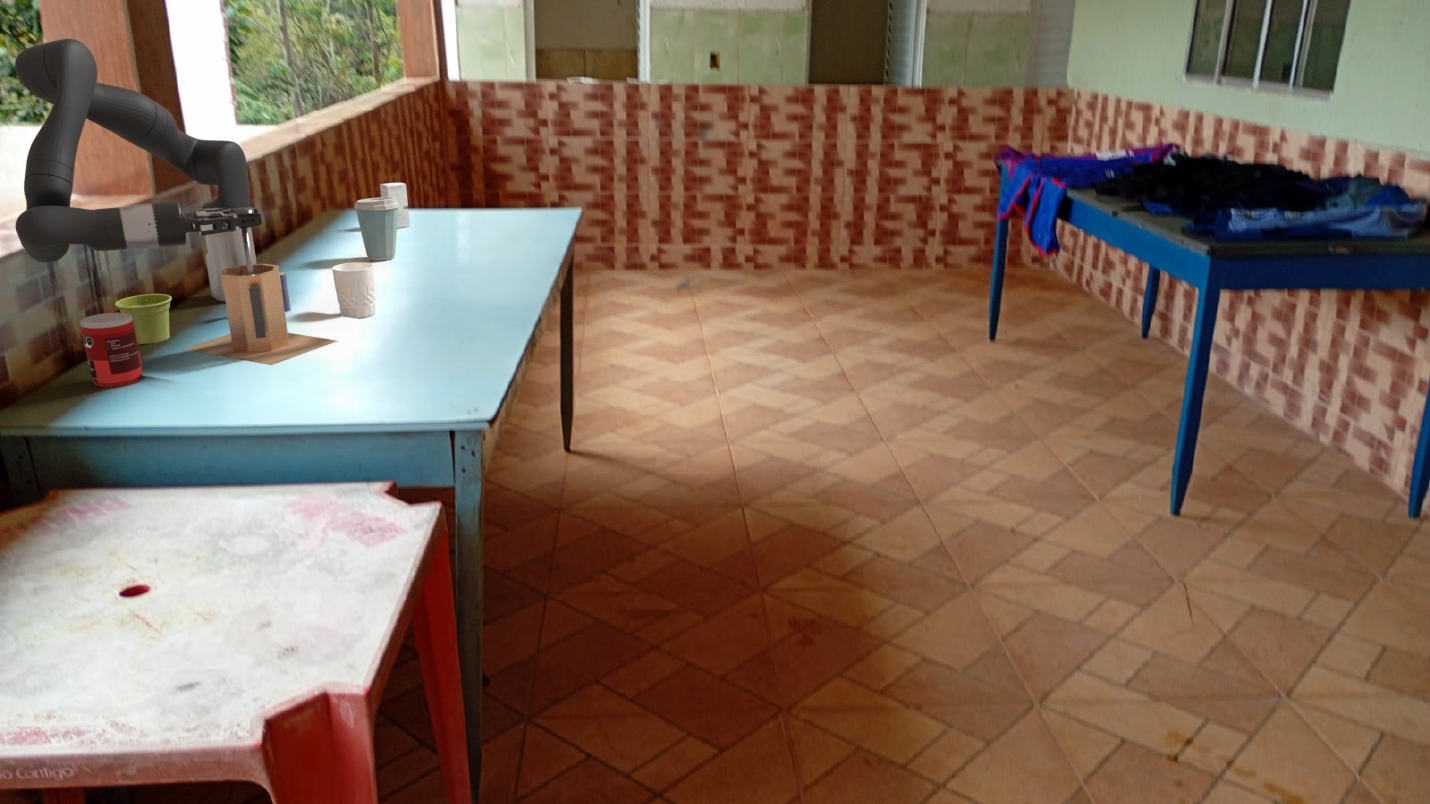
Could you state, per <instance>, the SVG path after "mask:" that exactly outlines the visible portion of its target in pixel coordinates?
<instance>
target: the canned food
mask: <svg viewBox="0 0 1430 804" xmlns="http://www.w3.org/2000/svg"><path fill="white" fill-rule="evenodd" d="M79 322H80V324H79V325H80V330H81V335H82V341H83V344H84V345H83V346H84V350H85V354H86V360H87V364H88V369H89V374H90V379H91V381H92V383H93V384H95V385H94V386H97V387H98V386H99V387H100V388H107V387H110V388H120V387H126V386H130V385H133V384H136V383H138V382H140V381H141V380H142V379H143V372H144V371H143V367H142V361H141V355H140V351H139V349H140V348H139V345H138V344H137V338H136V333H135V327H134V323H133V318H132V315H130V314H126V313H121V312H108V313H100V314H93V315H90V316H87V317H85V318H83V319H80V321H79Z"/></svg>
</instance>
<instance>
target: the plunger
mask: <svg viewBox="0 0 1430 804" xmlns="http://www.w3.org/2000/svg"><path fill="white" fill-rule="evenodd" d="M229 213H230V214H237V216H238V214H245V213H254V208H253V207H250V206H249V207H240V208H233V209H230V210H229ZM250 227H251V228H254V227H255V226H249V227H239V228H241V231H242V238H243V244H244V251H245V258H246V264H247V271H248V275H252V274H254V271H253V264H252V257H251V250H250V244H249V237H248V230H247V228H250Z"/></svg>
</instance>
